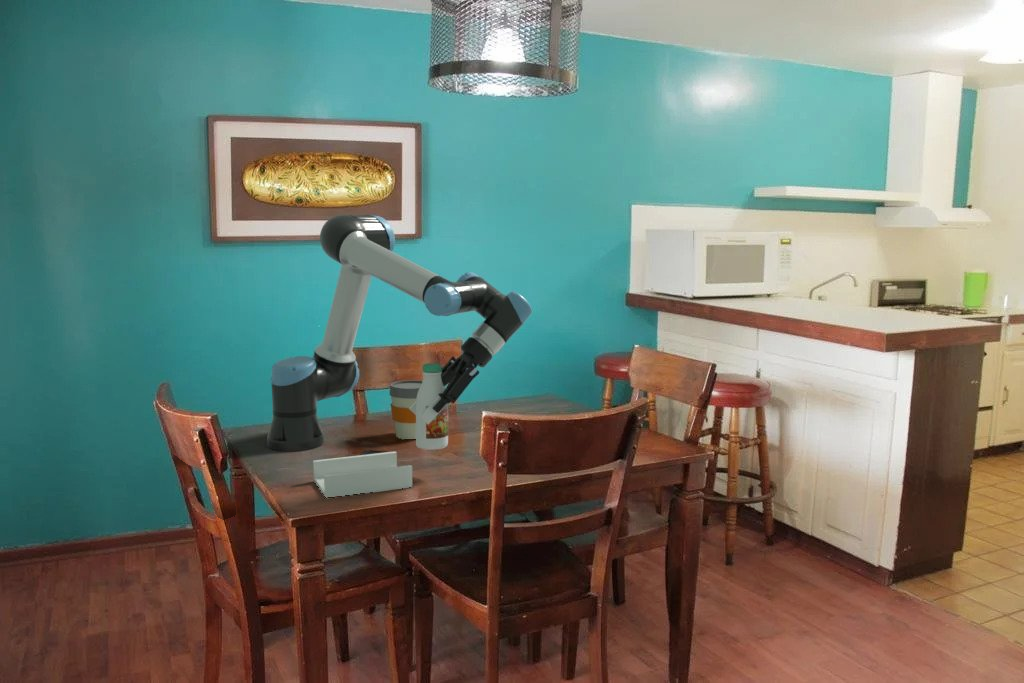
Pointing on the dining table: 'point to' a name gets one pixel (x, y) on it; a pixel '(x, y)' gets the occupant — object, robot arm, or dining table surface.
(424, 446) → the milk bottle
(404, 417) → the reusable coffee cup
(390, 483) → the duct channel
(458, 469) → the dining table surface
